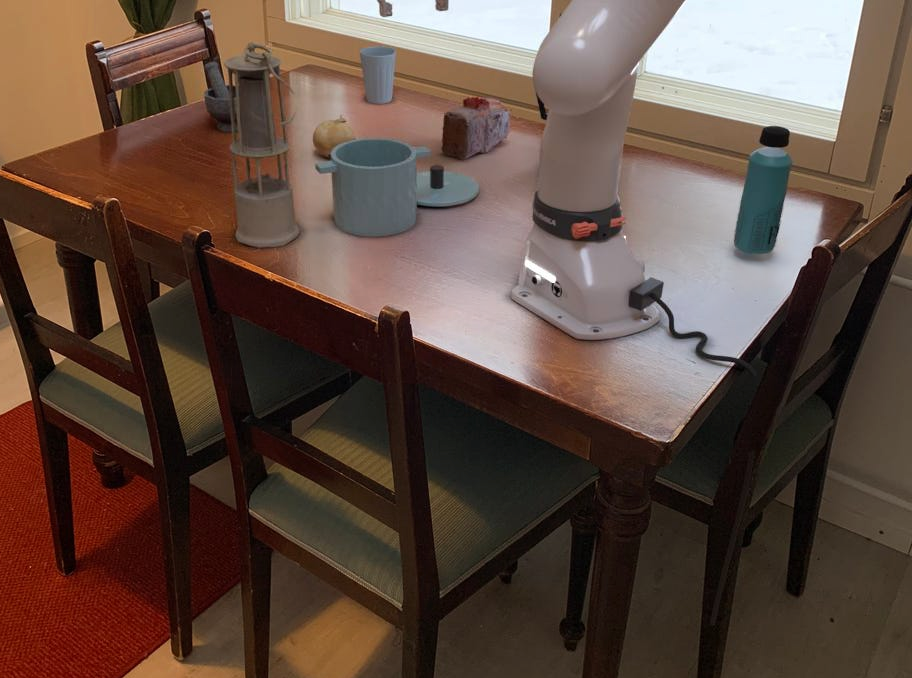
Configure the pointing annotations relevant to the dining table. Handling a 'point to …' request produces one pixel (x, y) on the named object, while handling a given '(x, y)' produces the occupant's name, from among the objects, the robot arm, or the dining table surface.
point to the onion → (331, 135)
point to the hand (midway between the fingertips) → (414, 13)
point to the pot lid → (444, 187)
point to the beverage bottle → (764, 193)
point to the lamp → (260, 152)
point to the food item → (474, 127)
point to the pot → (374, 185)
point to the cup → (378, 73)
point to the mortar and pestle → (220, 99)
